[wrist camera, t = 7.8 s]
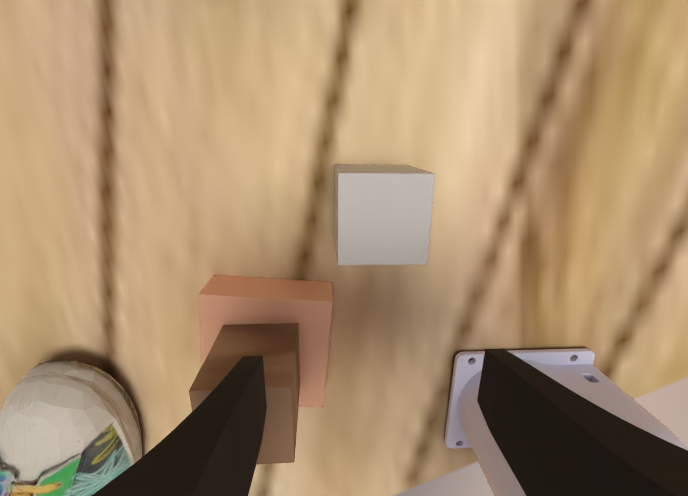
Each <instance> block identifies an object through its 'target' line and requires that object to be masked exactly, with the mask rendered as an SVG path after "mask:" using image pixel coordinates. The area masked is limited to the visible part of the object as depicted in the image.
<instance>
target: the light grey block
mask: <svg viewBox="0 0 688 496" xmlns="http://www.w3.org/2000/svg"><path fill="white" fill-rule="evenodd" d="M434 181H435V173H431V172H428V171H425V170H422V169H418V168H415V167H412V166H409V165H343V164H335V187H334V236H335V244H336V253H337V261H338V265H415V264H427V257H428V246H429V236H430V225H431V214H432V203H433V192H434Z"/></svg>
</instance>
